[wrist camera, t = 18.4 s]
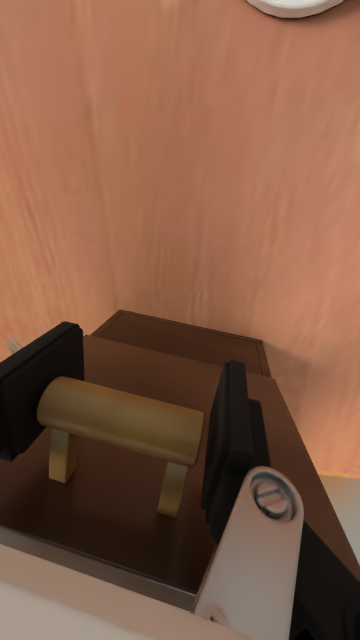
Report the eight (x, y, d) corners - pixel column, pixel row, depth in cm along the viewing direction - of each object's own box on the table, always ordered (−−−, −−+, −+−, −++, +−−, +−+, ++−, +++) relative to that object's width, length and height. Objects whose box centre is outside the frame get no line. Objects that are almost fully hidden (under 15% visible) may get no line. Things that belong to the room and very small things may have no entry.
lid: (394, 686, 6) (493, 559, 5) (-156, 490, 8) (-191, 363, 6) (271, 386, 20) (288, 335, 18) (85, 342, 21) (89, 292, 20)
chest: (232, 426, 32) (233, 477, 26) (116, 396, 34) (91, 436, 28) (262, 340, 26) (272, 379, 20) (119, 309, 28) (88, 336, 22)
